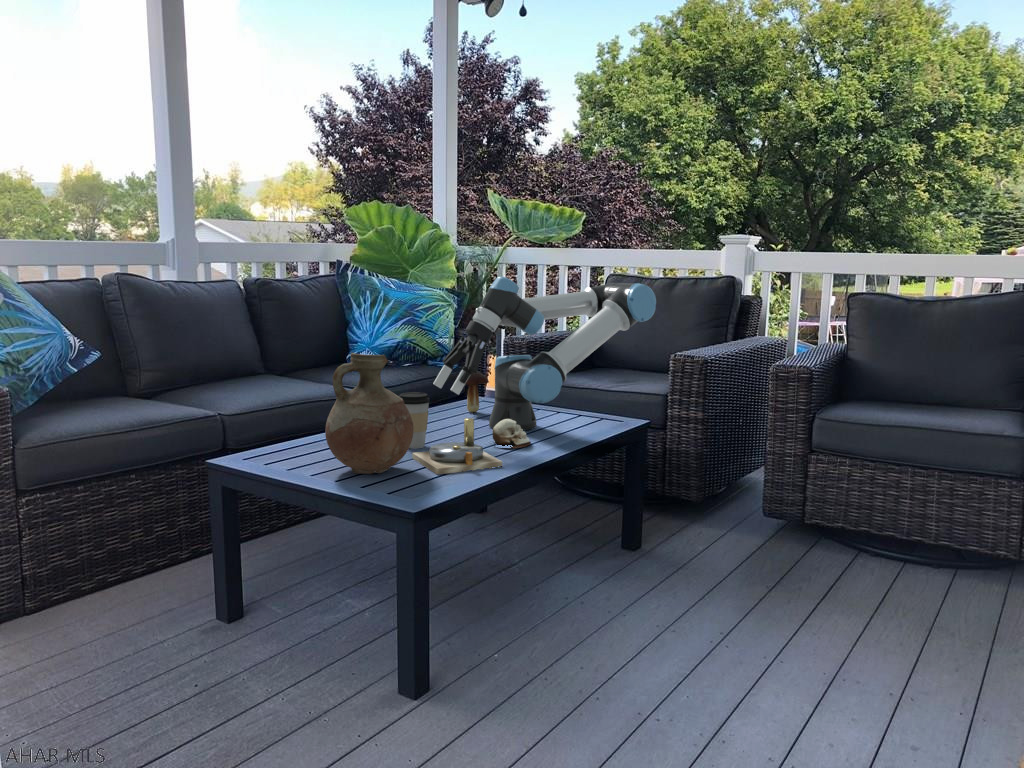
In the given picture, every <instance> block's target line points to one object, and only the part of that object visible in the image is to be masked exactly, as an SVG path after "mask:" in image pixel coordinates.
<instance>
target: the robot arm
mask: <svg viewBox="0 0 1024 768" xmlns="http://www.w3.org/2000/svg"><path fill="white" fill-rule="evenodd" d="M519 289H520V288H519V286H518V285H517V282H515V281H513V280H512V279H509V278H508V277H505V276H497V277H496V278H495V279H494V281H492V284H491V285H490V286H489V288H488V290H487V291H486V294H485V296H484V297H483V299H482V301H481V303H480V304H479V306H478V307H477V308H475V313H474V315H473V316H472V320H470V321H469V323H468V325H467V326H466V328H465V333H466V334H467V337H464V336H461V337H460V339H459V340H458V342H457V343H456V344H455V346H453V348H452V349H451V350H450V351H449V352H448V353H447V355H446V356H445V357H444V358H443V359H442V363H443V366H442V367H441V370H440V371H439V372H438V374H437V375H436V378H435V380H434V381H433V385H434V386H436V387H437V388H439V389H442V388H443V386H444V385H445V383H446V381H447V380H448V378H449V376H450V374H451V373H452V371H453V370H454V366H455V365H456V364H458V362H460V361H461V360H462V359H463V358H464V357H466V358H465V364H464V366H462V367H461V370H460V372H459V374H458V375H457V377H456V379H455V381H454V382H453V384H452V386H451V388H450V391H451V392H453V393H455V394H456V395H458V396H459V395H460V393H461V392H462V390H463V389H464V387H465V386H466V385H465V383H466V382H467V380H468V378H469V377H470V374H473V372H474V373H476V372H477V371H478V370H479V366H480V363H481V360H482V358H483V354H484V351H485V349H486V348H487V346H488V345H487V344H488V343H489V342H490V340H491V338H492V336H493V335H494V334H493V333H494V332H496V330H497V328H498V326H506V327H513V328H516V329H519V330H521V331H522V332H523V333H525V334H527V335H529V336H532V335H536V334H537V333H538V332H539V331H540V330H541V328H542V327H543V325H544V323H545V320H555V319H561V318H567V317H576V316H584V315H586V316H587V317H590V318H589V319H588V320H587V321H586V322H584V323H583V324H582V325H581V326H580V327H578V328H577V329H576V330H574V331H573V332H572V333H571V334H570V335H568V336H567V337H566V338H565V339H563V340H562V341H561V342H559V344H557V345H556V346H555V347H553V348H552V349H551V350H550V351H541V352H539V354H537V355H536V356H534V357H533V358H532V355H531V354H522V355H517V354H516V355H501V356H500V355H499V356H497V357H496V359H495V364H494V404H493V407H492V411H491V413H490V417H489V422H488V424H489V428H491V429H493V428H494V426H495V425H496V424H497V423H499V422H500V421H502V420H504V419H511V420H514V421H516V424H517V425H520V427H521V429H523V430H525V431H530V430H529V429H531V430H534V429H536V428H537V418H536V414H535V412H534V409H533V405H532V403H535V404H546V403H548V402H550V401H553V400H554V399H555V398H557V397H558V395H559V394H560V393H561V390H562V388H561V387H562V386H563V384H564V383H565V382H566V381H567V374H568V373H570V371H572V370H573V369H574V368H575V367H577V366H578V365H579V364H580V363H582V362H583V361H584V360H585V359H586V358H588V357H589V356H590V355H591V354H592V353H594V351H596V350H597V349H599V348H600V347H601V346H602V345H603V344H604V343H606V342H607V341H608V340H609V339H611V338H612V337H613V336H614V335H615V334H616V333H618V332H619V331H623V332H624V331H628V330H630V328H632V327H633V326H634V325H635V324H637V322H639V323H643V322H646V321H648V320H649V321H650V319H651V318H652V317H653V316H654V314H655V312H656V309H657V308H656V305H657V297H656V294H655V292H654V291H653V289H652V288H651V287H650V286H648V285H647V284H644V283H639V282H636V283H629V282H612V283H606V284H602V285H601V284H600V285H597V286H591V287H585V288H584V289H583V290H582V291H575V292H567V293H560V294H551V295H542V296H534V297H527V298H522V297H520V296H519V295H518V293H519Z"/></svg>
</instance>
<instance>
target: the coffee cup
mask: <svg viewBox="0 0 1024 768" xmlns="http://www.w3.org/2000/svg"><path fill="white" fill-rule="evenodd" d="M398 396H399V397H400V398H402V399H403V402H404V404H405V405H406V407H407V408H408V410H409V413H410V415H411V418H412V421H413V427H414V431H413V439H412V442H411V444H410V447H409V449H414V450H415V449H416V450H417V449H422V448H424V447H425V446H426V435H427V430H428V421H429V405H430V403H431V400H430V397H429V396H428V394H427V393H426V392H417V391H416V392H415V391H412V392H410V391H409V392H402V393H400V394H399V395H398Z"/></svg>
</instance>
